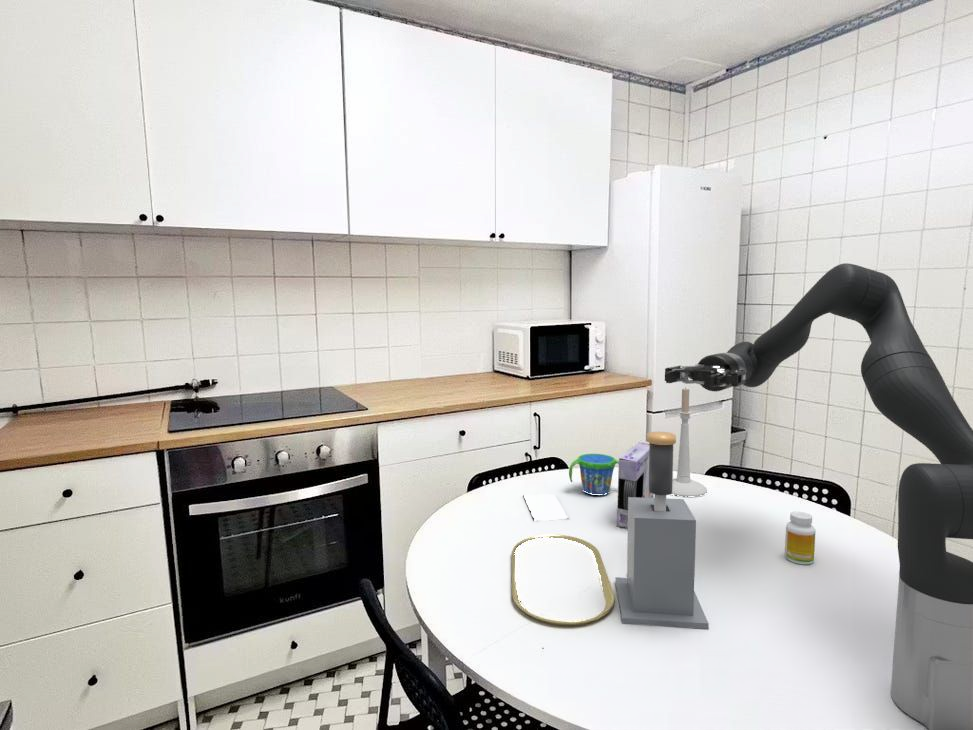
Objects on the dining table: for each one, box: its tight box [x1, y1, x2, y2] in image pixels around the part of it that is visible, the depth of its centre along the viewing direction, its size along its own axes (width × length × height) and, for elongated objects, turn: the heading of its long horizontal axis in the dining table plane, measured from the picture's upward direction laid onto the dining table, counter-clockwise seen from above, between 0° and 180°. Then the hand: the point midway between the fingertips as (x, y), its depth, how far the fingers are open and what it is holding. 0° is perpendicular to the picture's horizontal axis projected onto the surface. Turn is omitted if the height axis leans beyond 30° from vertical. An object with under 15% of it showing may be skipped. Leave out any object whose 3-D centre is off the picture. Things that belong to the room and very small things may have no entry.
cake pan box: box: [616, 440, 654, 529], centre depth 139 cm, size 19×5×18 cm, turn 148°
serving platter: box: [511, 534, 616, 627], centre depth 110 cm, size 19×35×2 cm, turn 177°
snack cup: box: [568, 453, 619, 494], centre depth 157 cm, size 16×10×10 cm
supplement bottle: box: [784, 511, 816, 565], centre depth 115 cm, size 5×5×10 cm
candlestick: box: [672, 387, 708, 497], centre depth 157 cm, size 13×13×30 cm
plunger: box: [646, 431, 677, 511], centre depth 97 cm, size 5×5×27 cm
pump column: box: [614, 497, 710, 630], centre depth 98 cm, size 14×14×18 cm
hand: (689, 379), depth 103 cm, fingers open, 8 cm apart
